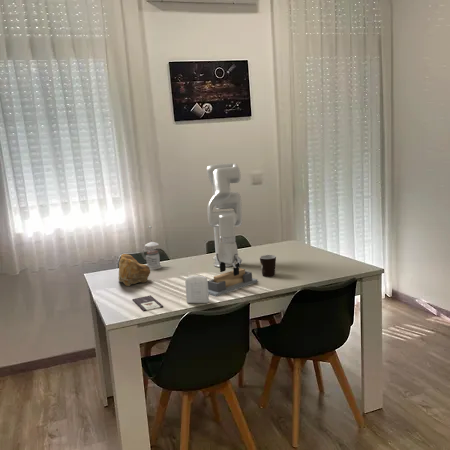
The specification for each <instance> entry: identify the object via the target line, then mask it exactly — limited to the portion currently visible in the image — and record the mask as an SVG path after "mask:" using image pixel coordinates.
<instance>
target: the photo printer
mask: <svg viewBox="0 0 450 450" xmlns="http://www.w3.org/2000/svg"><path fill="white" fill-rule="evenodd" d="M208 281H209V280H208V277H206V276H204V275H196V274H194V275H189V276H187V277H186V278H185V281H184V282H185V283H184V284H185V295H186V296H185V297H186V299H185V300H186V303H187V304H208V303H209V301H210V298H209V294H208Z"/></svg>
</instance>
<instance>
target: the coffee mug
mask: <svg viewBox="0 0 450 450" xmlns="http://www.w3.org/2000/svg"><path fill="white" fill-rule="evenodd" d="M259 260H260V261H259V263H260V267H261V268H260V270H261V273H262V277H263V278H264V277H265V278H273V277H275V276H276V264H277V263H276V261H277V256H276V255H273V254H264V255H260V256H259Z"/></svg>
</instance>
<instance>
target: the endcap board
mask: <svg viewBox="0 0 450 450" xmlns="http://www.w3.org/2000/svg"><path fill="white" fill-rule="evenodd" d="M207 281H208V294H209V295H210V296H213V297H218V296H222V295H223V294H227V293H230V292H233V291H235V290H238V289H241V288H244V287H247V286H249V285H253V284H256V283H258V282H259V281H258V279H256V278H253V273H252V272H250V271H247V270H245V274H243V282H240V283H238V284H235V285H232V286H229V287H226V282H225V281H222V282H219V283H216V282H214V278H213V279H209V280H207Z"/></svg>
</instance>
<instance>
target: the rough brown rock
mask: <svg viewBox="0 0 450 450" xmlns="http://www.w3.org/2000/svg"><path fill="white" fill-rule="evenodd" d="M150 275H151V270H150V268H149V267H148V266H147V264H143V263H139V261H137V259H136V258H135V257H133V256H132V255H131V254H127V253H126V254H123V253H122V254H121V256H120V258H119V262H118V281H119V282H121V283H123V284H124V285H125V286H126V287H130V286H131V285H135V284H138V283H143V284H144V283H147V282H148V280H149V279H148V278H149V276H150Z"/></svg>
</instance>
